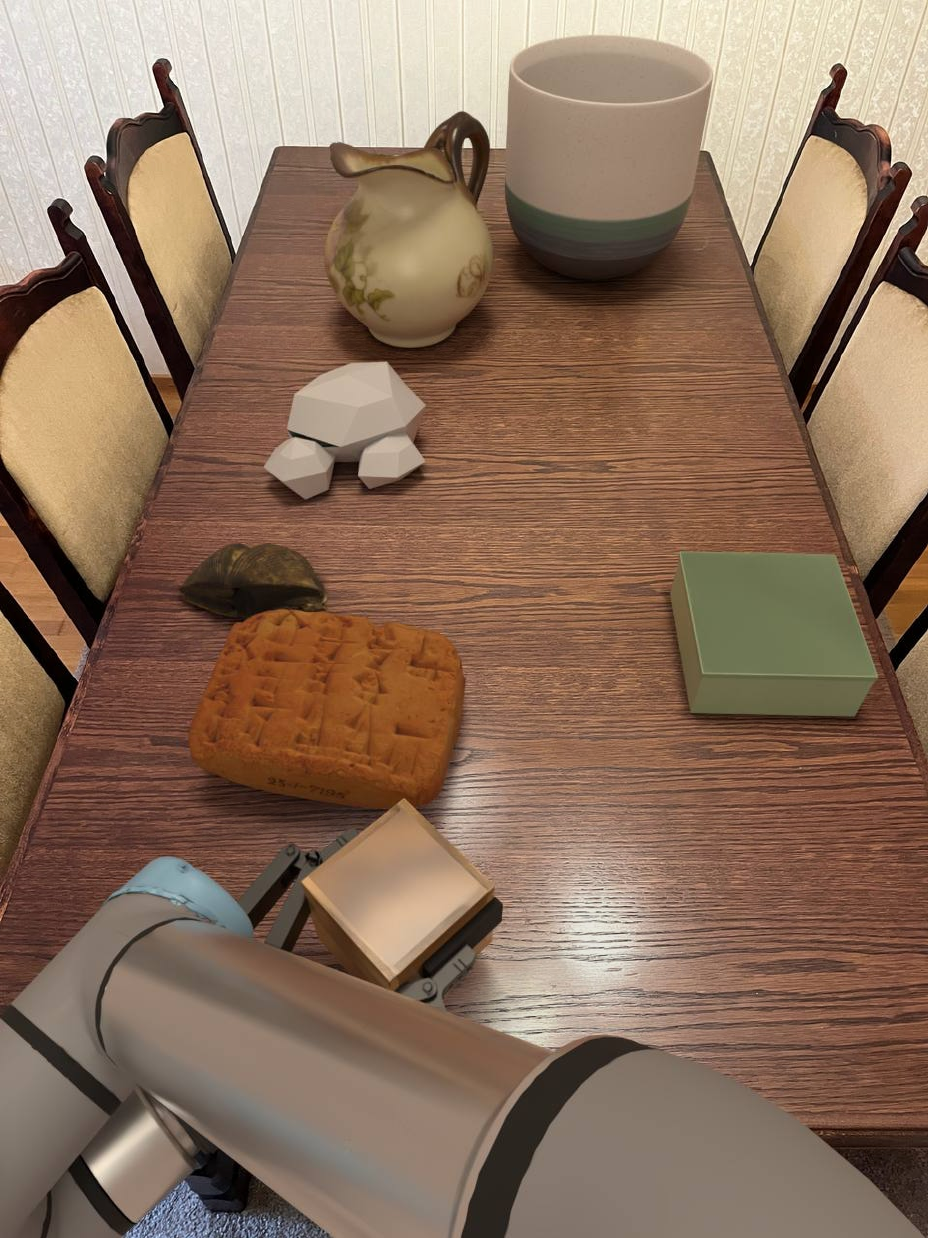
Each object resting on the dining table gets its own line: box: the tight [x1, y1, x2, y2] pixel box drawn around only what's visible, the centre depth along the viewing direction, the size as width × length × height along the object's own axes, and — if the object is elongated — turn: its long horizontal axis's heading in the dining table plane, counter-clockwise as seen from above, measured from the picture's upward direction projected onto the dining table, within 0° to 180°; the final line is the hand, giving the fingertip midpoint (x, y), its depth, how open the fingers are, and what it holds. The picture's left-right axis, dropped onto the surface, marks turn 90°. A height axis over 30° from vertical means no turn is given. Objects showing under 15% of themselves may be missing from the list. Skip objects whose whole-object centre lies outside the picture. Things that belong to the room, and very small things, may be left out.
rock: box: [263, 361, 427, 500], centre depth 104 cm, size 18×20×10 cm
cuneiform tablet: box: [187, 609, 466, 810], centre depth 78 cm, size 22×17×8 cm
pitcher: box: [323, 110, 495, 349], centre depth 118 cm, size 22×24×25 cm
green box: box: [669, 551, 879, 717], centre depth 85 cm, size 15×15×6 cm
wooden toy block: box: [300, 799, 496, 991], centre depth 62 cm, size 9×9×9 cm
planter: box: [504, 34, 714, 281], centre depth 129 cm, size 27×27×27 cm
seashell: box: [179, 542, 328, 620], centre depth 90 cm, size 16×9×7 cm, turn 75°
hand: (448, 860), depth 63 cm, fingers closed on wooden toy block, 9 cm apart
